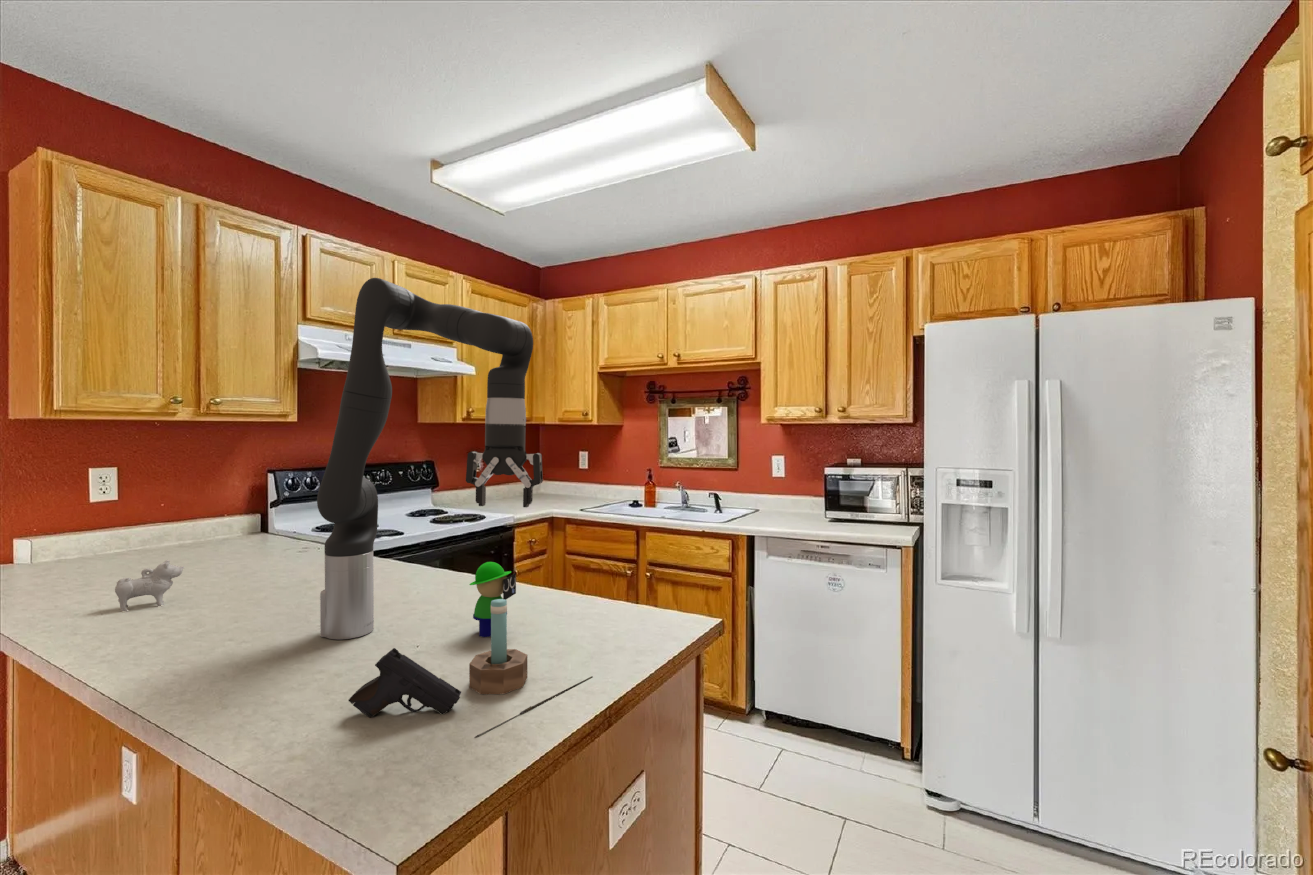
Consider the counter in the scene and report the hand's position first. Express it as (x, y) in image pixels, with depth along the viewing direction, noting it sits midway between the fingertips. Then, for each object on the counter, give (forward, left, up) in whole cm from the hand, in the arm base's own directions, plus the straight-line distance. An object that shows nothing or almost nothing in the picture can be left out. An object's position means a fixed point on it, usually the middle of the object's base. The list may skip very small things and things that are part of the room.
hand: (504, 506), depth 111 cm
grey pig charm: (-95, +33, -29) cm, 105 cm away
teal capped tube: (+2, -12, -29) cm, 31 cm away
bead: (+2, -12, -29) cm, 31 cm away
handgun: (-10, -23, -29) cm, 38 cm away
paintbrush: (+11, -20, -29) cm, 37 cm away
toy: (-6, +13, -29) cm, 32 cm away
